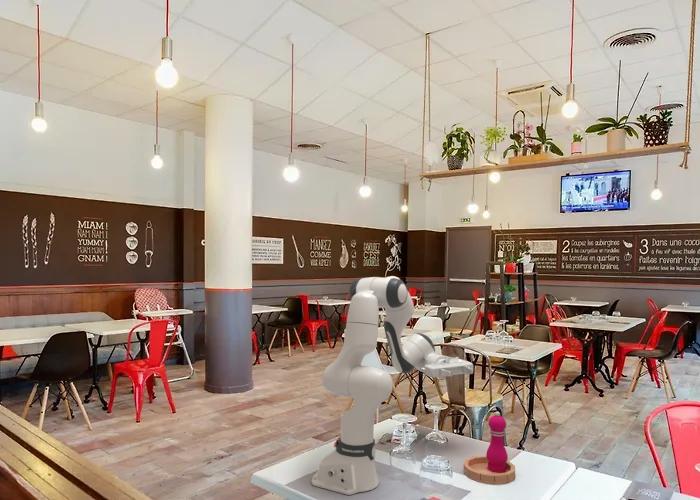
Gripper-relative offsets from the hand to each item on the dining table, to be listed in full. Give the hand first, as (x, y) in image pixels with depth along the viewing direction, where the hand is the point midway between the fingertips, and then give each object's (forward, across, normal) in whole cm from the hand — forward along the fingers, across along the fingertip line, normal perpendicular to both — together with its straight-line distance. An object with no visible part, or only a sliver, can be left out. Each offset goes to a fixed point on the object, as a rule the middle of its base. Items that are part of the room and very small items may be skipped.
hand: (461, 372), depth 184 cm
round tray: (+15, 0, +32) cm, 35 cm away
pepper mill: (+15, +3, +31) cm, 35 cm away
